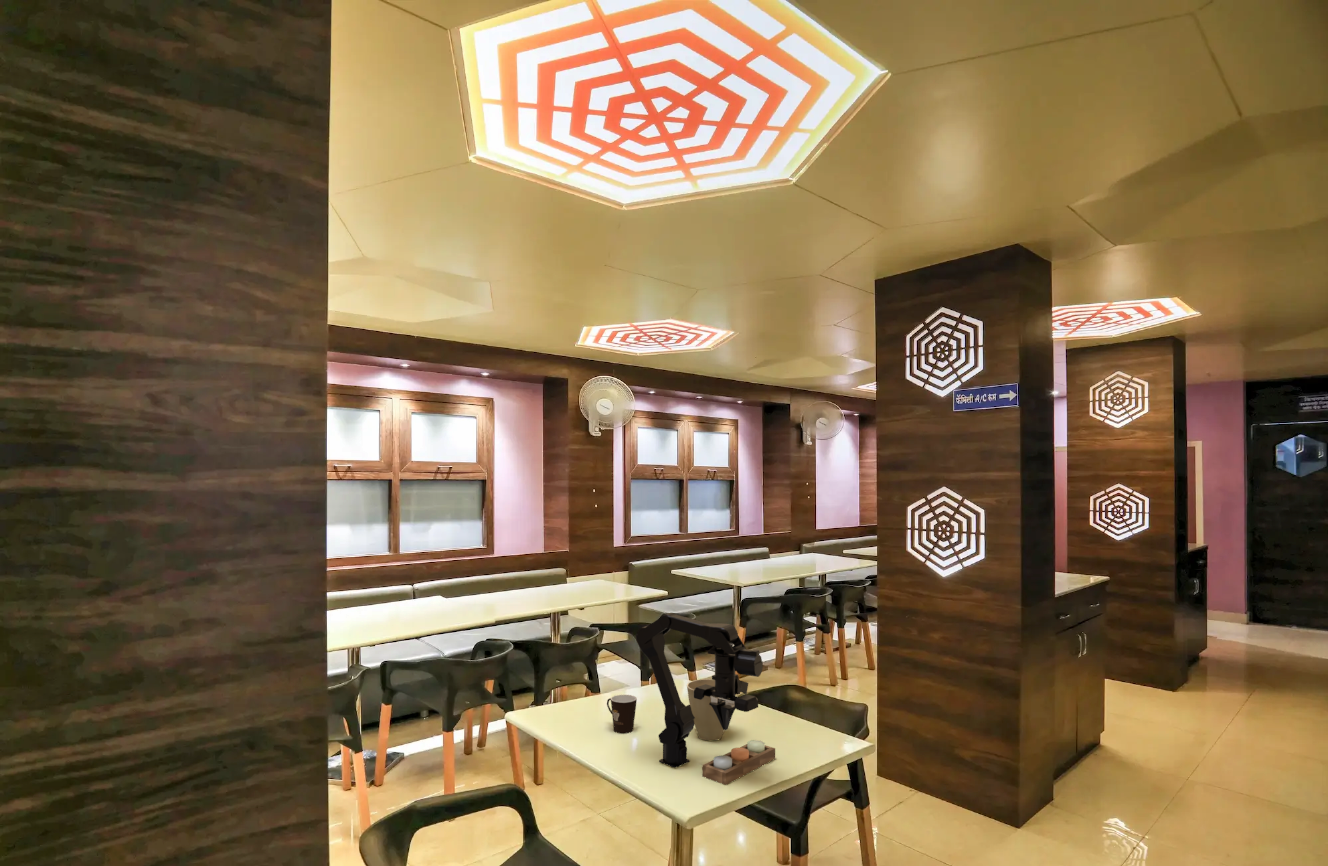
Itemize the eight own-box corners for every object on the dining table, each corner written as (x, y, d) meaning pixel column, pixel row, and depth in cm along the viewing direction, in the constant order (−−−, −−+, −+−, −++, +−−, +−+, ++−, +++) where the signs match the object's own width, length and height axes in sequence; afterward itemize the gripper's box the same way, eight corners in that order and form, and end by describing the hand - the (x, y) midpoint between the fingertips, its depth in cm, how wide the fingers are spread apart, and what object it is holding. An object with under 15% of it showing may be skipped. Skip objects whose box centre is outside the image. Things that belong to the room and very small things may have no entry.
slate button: (710, 770, 179) (709, 759, 179) (721, 765, 183) (721, 754, 183) (724, 775, 176) (724, 764, 176) (735, 770, 179) (735, 758, 180)
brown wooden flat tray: (702, 776, 179) (702, 765, 179) (752, 751, 197) (752, 741, 197) (725, 785, 174) (725, 773, 174) (775, 759, 191) (775, 748, 191)
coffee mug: (640, 732, 212) (640, 700, 213) (614, 736, 209) (615, 703, 210) (628, 721, 223) (629, 691, 224) (604, 724, 220) (604, 693, 221)
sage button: (744, 754, 191) (744, 743, 191) (753, 749, 195) (753, 738, 195) (758, 758, 188) (758, 747, 188) (768, 753, 191) (767, 743, 191)
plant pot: (678, 740, 206) (679, 687, 207) (698, 725, 219) (698, 676, 220) (722, 749, 199) (722, 694, 200) (740, 733, 212) (740, 682, 213)
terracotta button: (727, 762, 185) (727, 751, 185) (738, 757, 189) (737, 746, 189) (742, 767, 182) (741, 755, 182) (752, 761, 185) (752, 750, 186)
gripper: (769, 672, 182) (769, 730, 181) (716, 660, 195) (716, 715, 193) (746, 680, 174) (746, 741, 173) (692, 667, 187) (692, 724, 185)
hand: (725, 729), depth 181 cm, fingers closed
